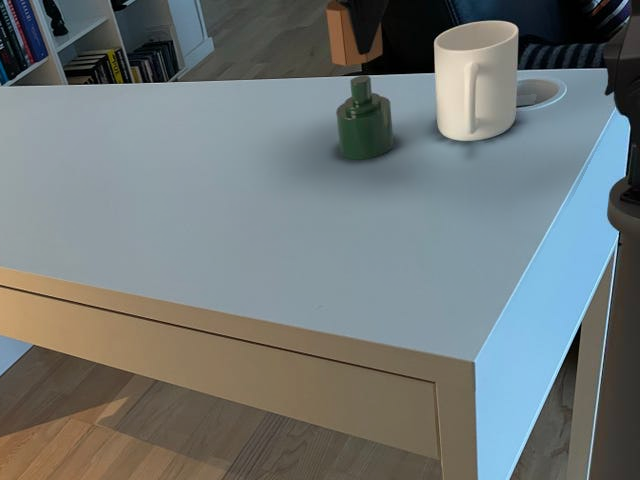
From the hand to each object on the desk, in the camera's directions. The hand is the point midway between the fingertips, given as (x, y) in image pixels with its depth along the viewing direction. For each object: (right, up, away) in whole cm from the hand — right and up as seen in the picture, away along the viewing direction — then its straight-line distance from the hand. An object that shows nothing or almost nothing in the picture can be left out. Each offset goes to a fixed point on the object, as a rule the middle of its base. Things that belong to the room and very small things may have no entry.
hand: (357, 45), depth 82 cm
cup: (+14, -8, +5) cm, 17 cm away
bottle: (+3, -8, +8) cm, 12 cm away
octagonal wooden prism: (0, -1, +1) cm, 1 cm away
